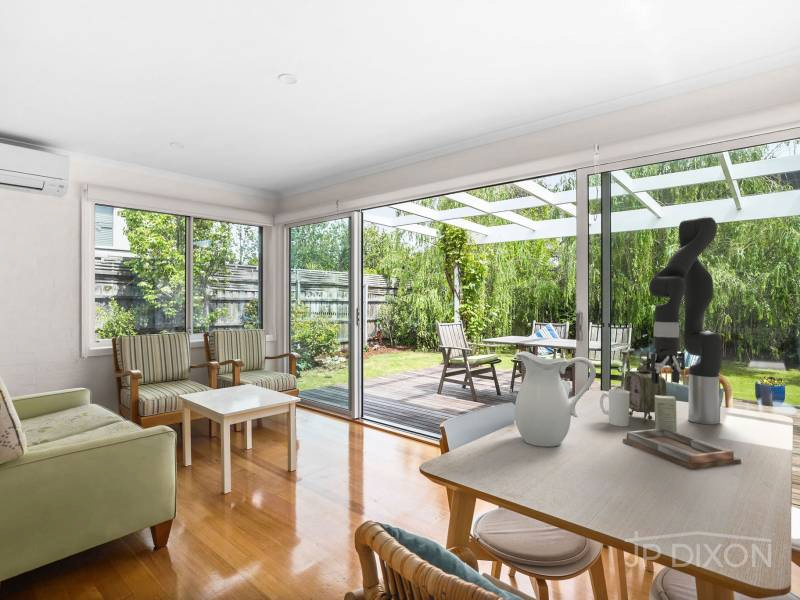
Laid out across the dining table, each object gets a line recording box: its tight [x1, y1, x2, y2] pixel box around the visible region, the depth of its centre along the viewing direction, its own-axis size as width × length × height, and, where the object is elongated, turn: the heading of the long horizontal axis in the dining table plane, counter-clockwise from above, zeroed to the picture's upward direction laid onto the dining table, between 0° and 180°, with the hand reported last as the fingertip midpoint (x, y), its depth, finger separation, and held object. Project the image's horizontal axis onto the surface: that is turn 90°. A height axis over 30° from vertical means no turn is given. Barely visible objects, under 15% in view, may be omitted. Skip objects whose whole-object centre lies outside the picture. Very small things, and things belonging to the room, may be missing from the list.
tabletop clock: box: [623, 352, 667, 424], centre depth 170 cm, size 14×9×25 cm, turn 178°
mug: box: [599, 388, 630, 427], centre depth 165 cm, size 10×7×12 cm, turn 46°
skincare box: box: [654, 395, 678, 433], centre depth 154 cm, size 6×4×12 cm
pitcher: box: [514, 351, 597, 448], centre depth 142 cm, size 24×17×28 cm
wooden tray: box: [622, 428, 742, 470], centre depth 135 cm, size 18×24×3 cm
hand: (665, 383), depth 154 cm, fingers open, 8 cm apart
